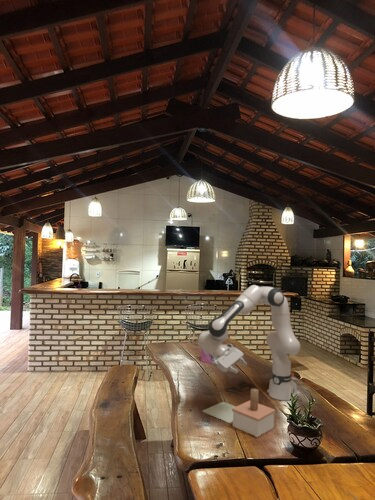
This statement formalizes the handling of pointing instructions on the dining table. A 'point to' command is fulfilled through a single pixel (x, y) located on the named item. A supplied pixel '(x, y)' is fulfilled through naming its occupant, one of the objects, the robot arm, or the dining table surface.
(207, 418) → the dining table surface
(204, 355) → the gum box
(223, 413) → the mat
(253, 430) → the box
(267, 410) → the lid
